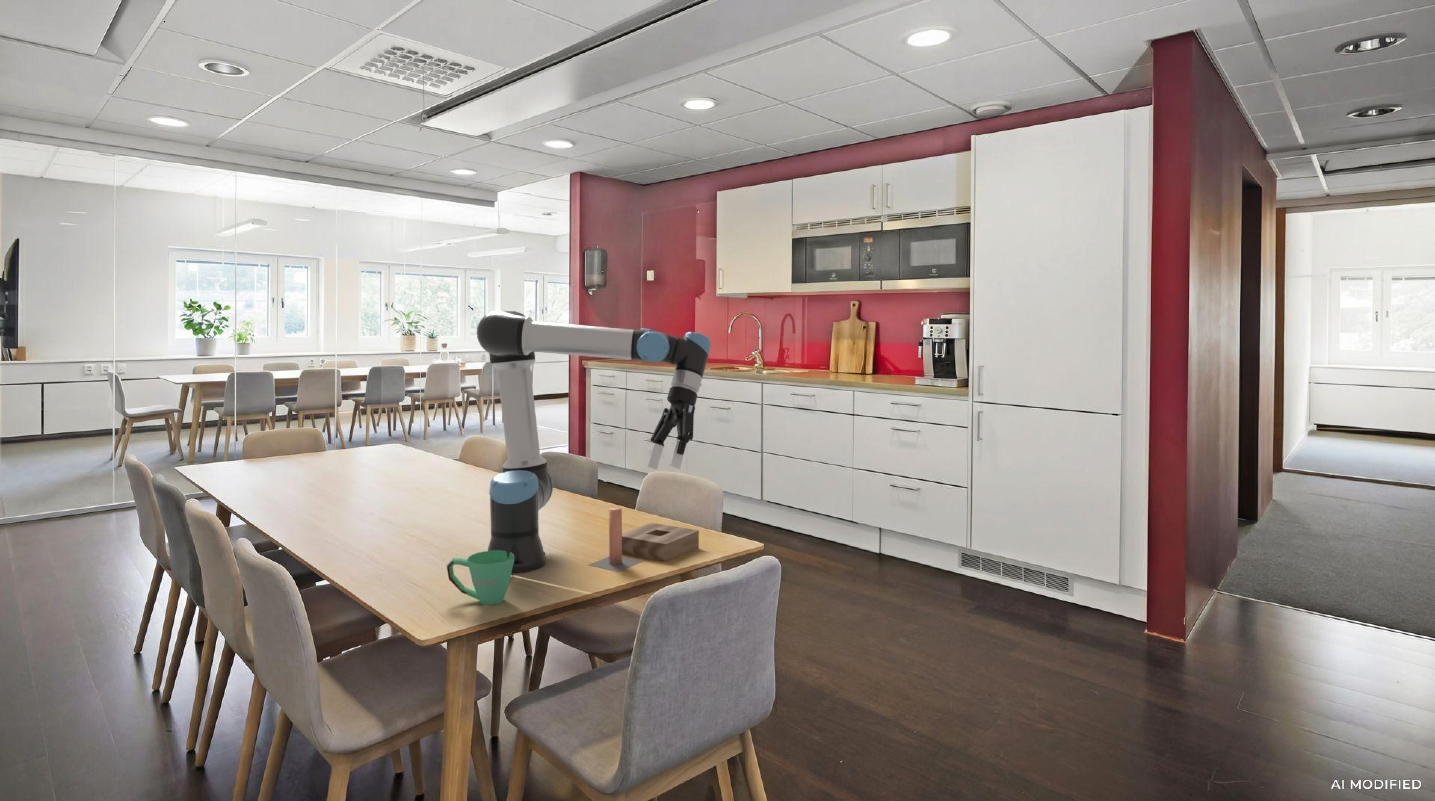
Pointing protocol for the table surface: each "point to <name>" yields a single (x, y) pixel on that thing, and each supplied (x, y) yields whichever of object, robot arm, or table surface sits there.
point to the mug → (485, 575)
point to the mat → (605, 565)
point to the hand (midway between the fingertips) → (662, 467)
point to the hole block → (659, 541)
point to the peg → (615, 536)
